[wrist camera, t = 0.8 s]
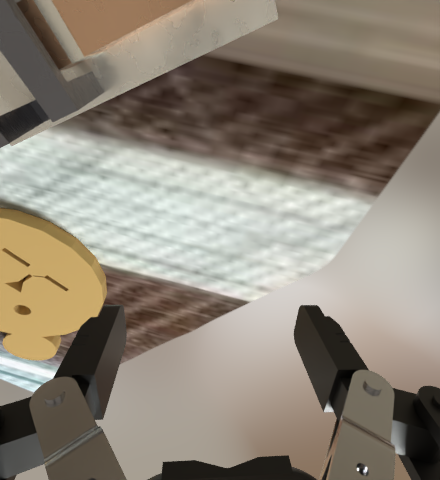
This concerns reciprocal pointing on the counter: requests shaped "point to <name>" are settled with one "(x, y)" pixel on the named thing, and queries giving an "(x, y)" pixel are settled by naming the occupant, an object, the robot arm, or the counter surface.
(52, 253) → the decorative plaque
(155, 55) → the block stand
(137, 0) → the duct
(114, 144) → the counter surface
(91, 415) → the robot arm
